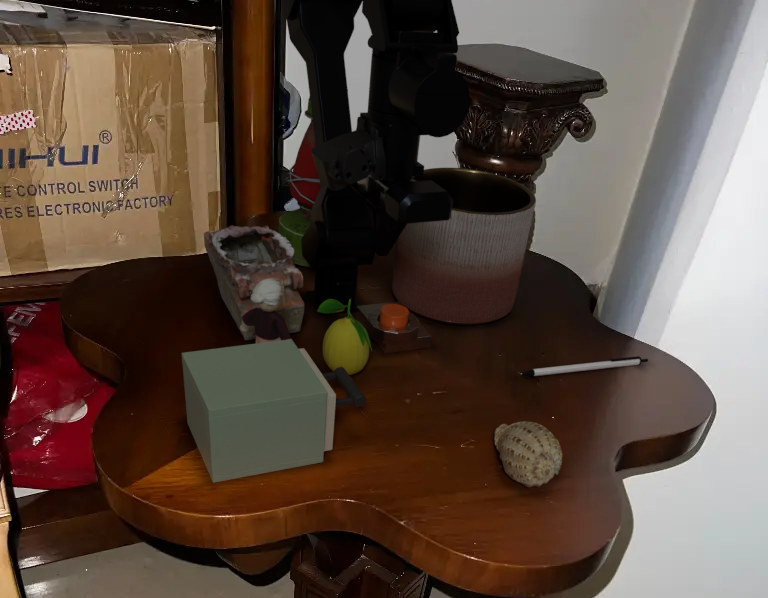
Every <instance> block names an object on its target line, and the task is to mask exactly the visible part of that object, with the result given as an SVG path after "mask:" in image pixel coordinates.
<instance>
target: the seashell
mask: <svg viewBox="0 0 768 598" xmlns="http://www.w3.org/2000/svg"><path fill="white" fill-rule="evenodd" d="M494 445H495V447H496V450H497V451H498V453H499V459H500V460H501V463H502V467H503V470H504V472H505V474H507V476H508V477H509V478H510V479H511V480H513V481H516V482H517V483H519V484H521V485H523V486H524V487H527V488H531V487H535V488H540V487H541V486H543V485H545V484H548V482H549V481H550V480H552V479H553V478H554V477H555V475H556V476H558V475H559V473H560V471H561V468H562V465H563V451H562V449H561V443H560V442H559V440H558V439H557V438H556V437H555V436H554V434H553V433H552V431H551V430H550V429H548V428H547V427H546V426H545V425H542V424H540V423H537V422H535V421H517V422H514V423H511V424H506V423H502V424H500V425H499V426H498V427H496V429H495V430H494Z"/></svg>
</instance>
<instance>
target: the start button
mask: <svg viewBox="0 0 768 598" xmlns="http://www.w3.org/2000/svg"><path fill="white" fill-rule="evenodd" d="M409 312H410V310H408V309H407V308H406V307H404V306H402V305H399V304H386V305H384V306H382V307H381V312H380V324H382V325H384V326H386V327H390V328H403V327H406V326H407V325H408V318H409Z"/></svg>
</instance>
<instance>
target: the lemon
mask: <svg viewBox="0 0 768 598" xmlns="http://www.w3.org/2000/svg"><path fill="white" fill-rule="evenodd" d="M350 304H351V299H349V304H348V305H347V306H344V305H342V304H341V303H340V302H339V301H337V300H335V299H328V300H325V301H324V302H323V303H322V304H321V305H320V306H319V308H318V310H316V312H317V313H319V312H321V313H337V312H341V311H344V310H345V307H348V312H347V316H345V317H342V318H338V319H336V320H335V321H333V322H332V323H331V325H330V326H329V327H328V328H327V330H326V331H325V334H324V337H323V341H322V357H323V360H324V362H325V364H326V365H327V367H328V369H330V370H331V372H334V370H335V369H336V368H338V367H343V368H344V369H345V370H346V371H347V373H348V374H349V375H350V376H351V375H356V374H357V373H359V372H361V371H362V370H363V369H364V368H365V366H366V365H367V363H368V360H369V358H370V357H369V356H370V351H371V352H373V348H372V343H371V339H370V336H369V334H368V333H367V331H366V330H365V328H364V327H363V326H362V325H361V324H360V322H359V321H358V320H357V319H356V318H354V316H353V315H352V314H351V312H350Z"/></svg>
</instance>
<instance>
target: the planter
mask: <svg viewBox="0 0 768 598" xmlns="http://www.w3.org/2000/svg"><path fill="white" fill-rule="evenodd" d="M412 179H413V180H416V181H429V180H432V181H433V182H435V183H436V184H437V185H439V186H440V187H442V188H443V189H444V190H446V191H447V192H448V194H449V195H450V196H451V198H452V199H453V206H452V212H451V218H450V219H449V220H445V221H433V222H420V223H408V224H407V225H406V226H405V228H404V229H403V231H402V233H401V234H400V236H399V237H398V239H397V241H396V245H395V246H396V247H395V254H394V261H393V269H392V279H391V290H392V291H391V292H392V294H393V296H394V298H395V299H396V301H397V302H398V301H400V302H401V303H402V304H403V306H404V307H406V308H407V309H408V310H409V312H410V313H412V314H414V315H417V316H419V317H421V318H424V319H427V320H429V321H433V322H436V323H441V324H445V325H453V326H478V325H480V326H481V325H485V324H490V323H493V322H496V321H499V320H500V319H502V318H504V317H505V316H507V315H509V313H510V312H511V311H512V310H513V308H514V304H515V301H516V298H517V293H518V289H519V284H520V280H521V275H522V269H523V265H524V260H525V256H526V250H527V245H528V241H529V236H530V232H531V228H532V227H531V226H532V222H533V219H534V213H535V208H536V204H537V198H536V196H535V194H534V192H533V191H531V190H530V189H529V188H528V187H527V186H525V185H523V184H522V183H520V182H518V181H516V180H514V179H511V178H509V177H506V176H503V175H500V174H496V173H492V172H489V171H484V170H479V169H472V168H465V167H464V168H463V167H432V168H424V174H423V176H414V177H412Z"/></svg>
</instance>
